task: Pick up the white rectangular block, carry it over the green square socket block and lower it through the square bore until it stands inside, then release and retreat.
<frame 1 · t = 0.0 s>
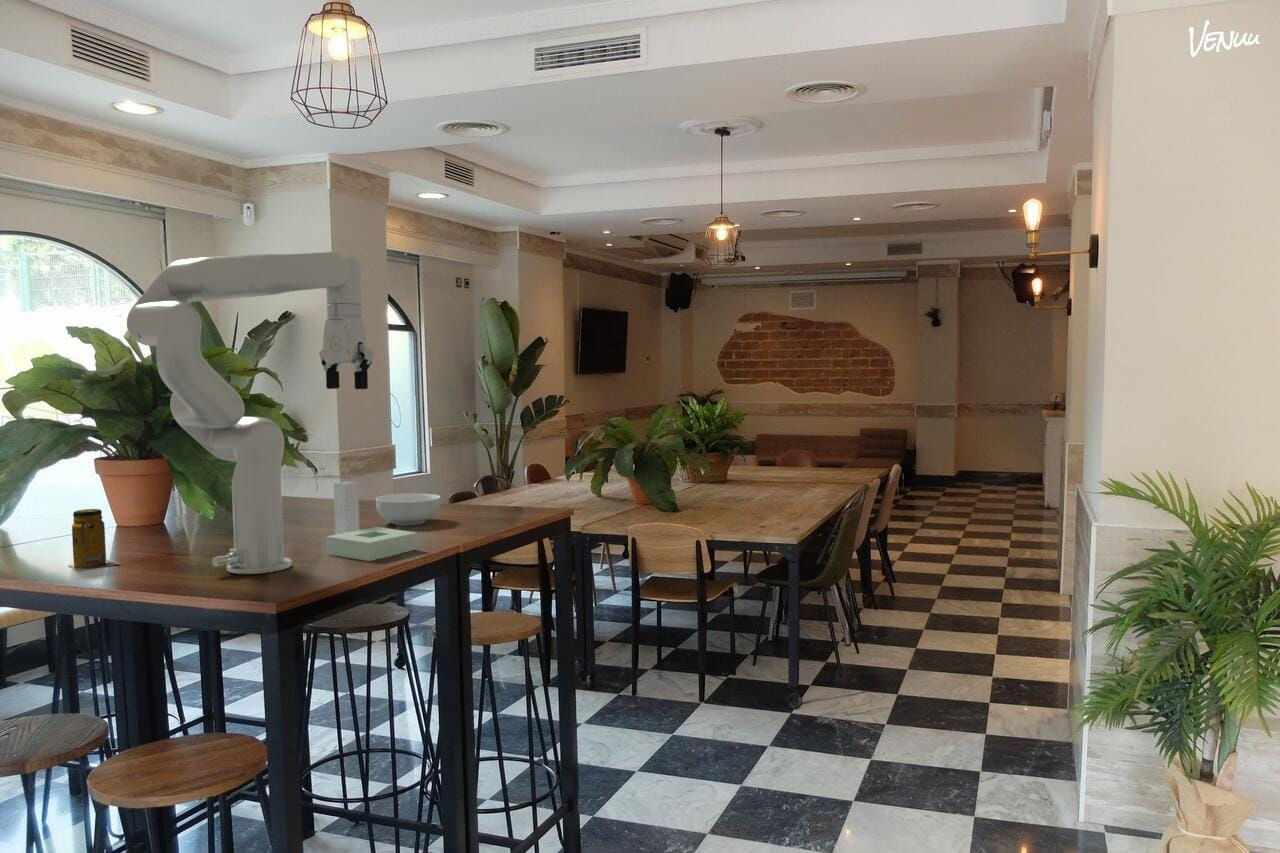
hand: (347, 388, 218), 37 cm above the table, tool pointing down, fingers open, 9 cm apart
condiment: (95, 566, 205), on the table
white rectangular block: (347, 540, 230), on the table
green square socket block: (372, 552, 216), on the table
cereal bowl: (409, 524, 254), on the table
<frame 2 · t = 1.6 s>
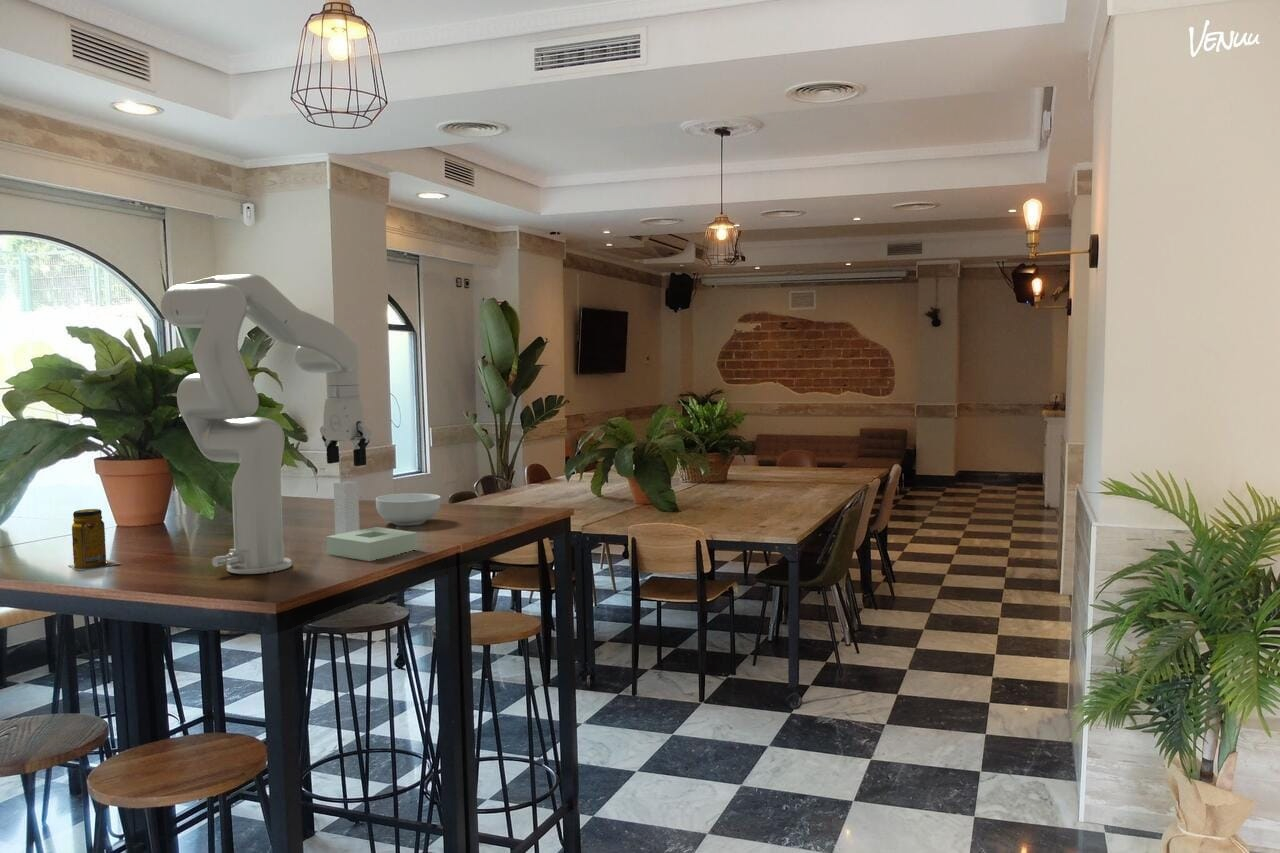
hand: (346, 464, 229), 18 cm above the table, tool pointing down, fingers open, 9 cm apart
nothing on the table moved.
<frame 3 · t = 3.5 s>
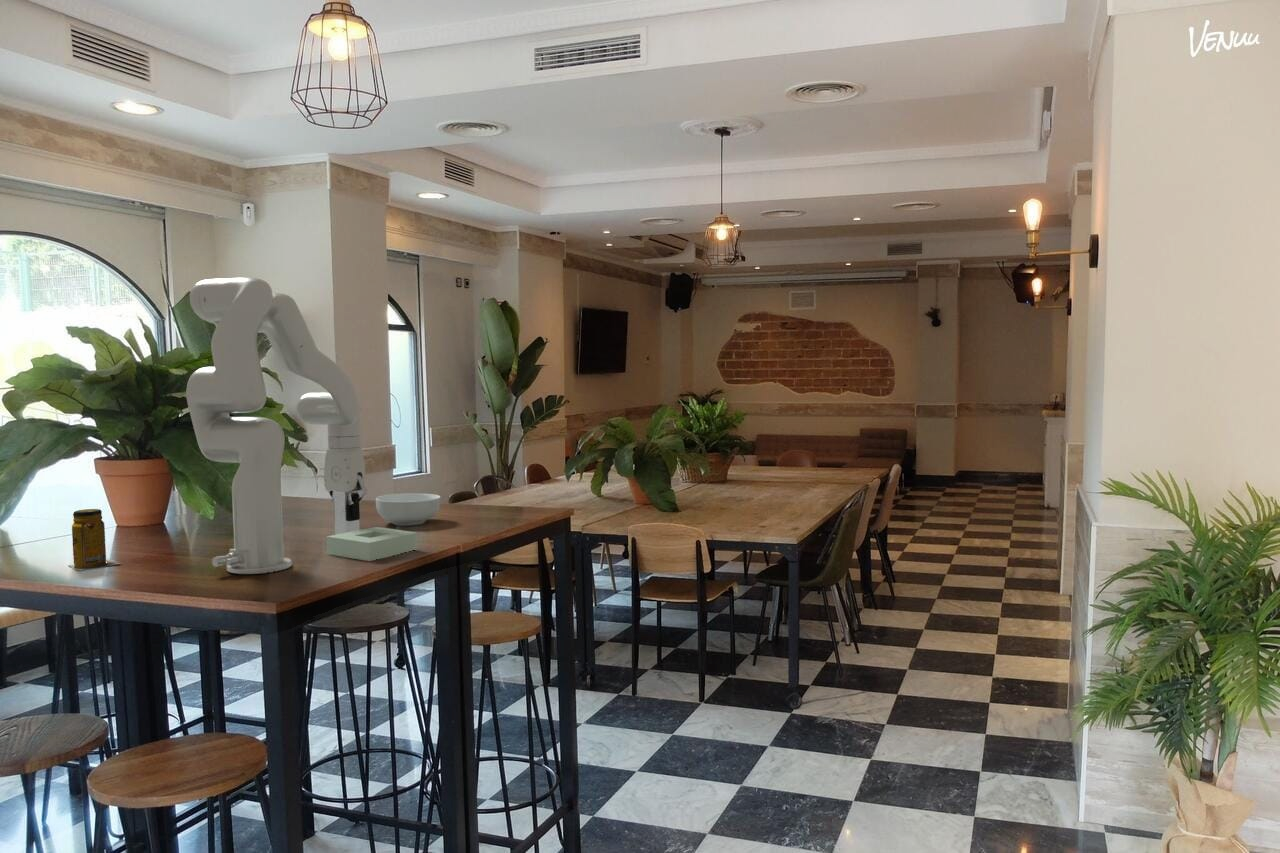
hand: (347, 518, 230), 5 cm above the table, tool pointing down, fingers closed on white rectangular block, 4 cm apart
white rectangular block: (347, 540, 230), on the table, touching gripper
everything else where it was.
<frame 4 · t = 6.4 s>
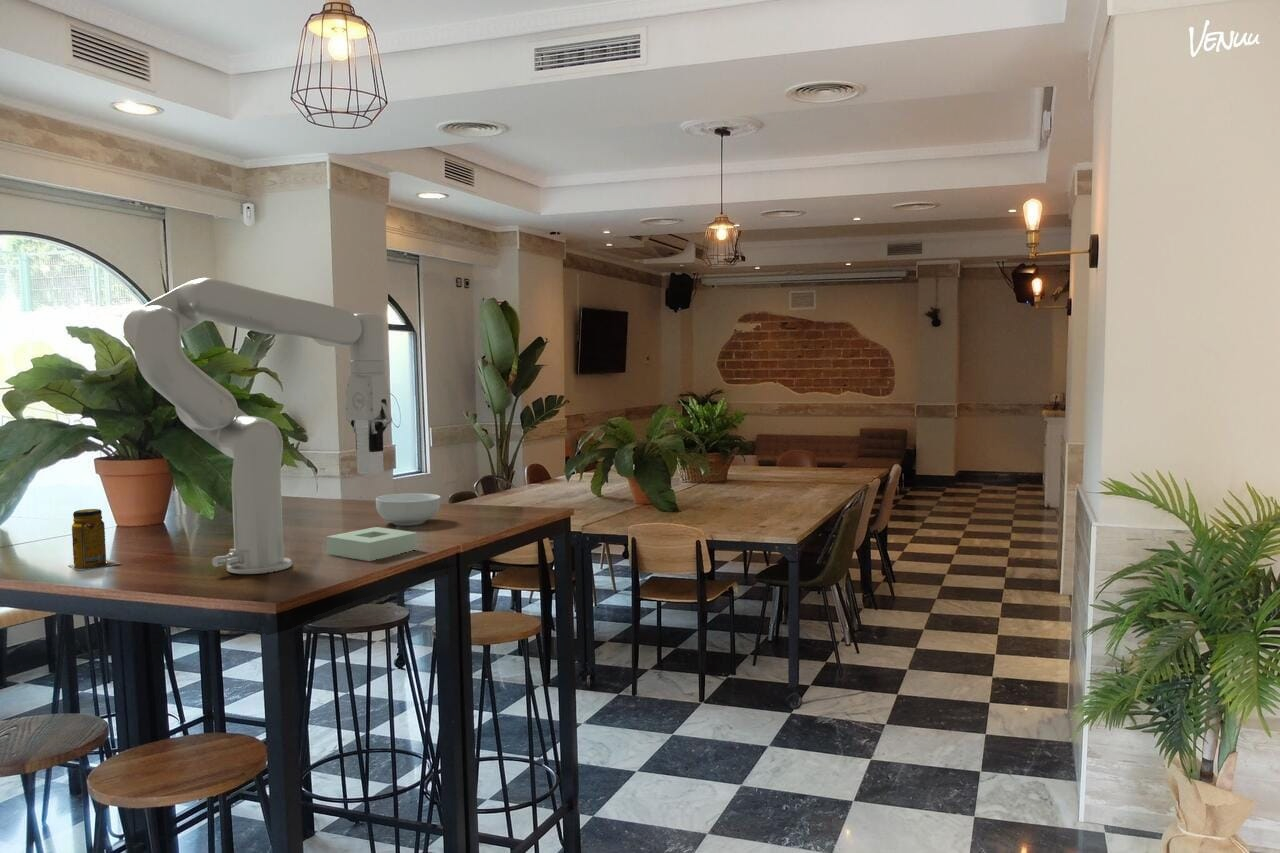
hand: (369, 450, 215), 23 cm above the table, tool pointing down, fingers closed on white rectangular block, 4 cm apart
white rectangular block: (370, 473, 215), point 18 cm above the table, touching gripper
everything else where it was.
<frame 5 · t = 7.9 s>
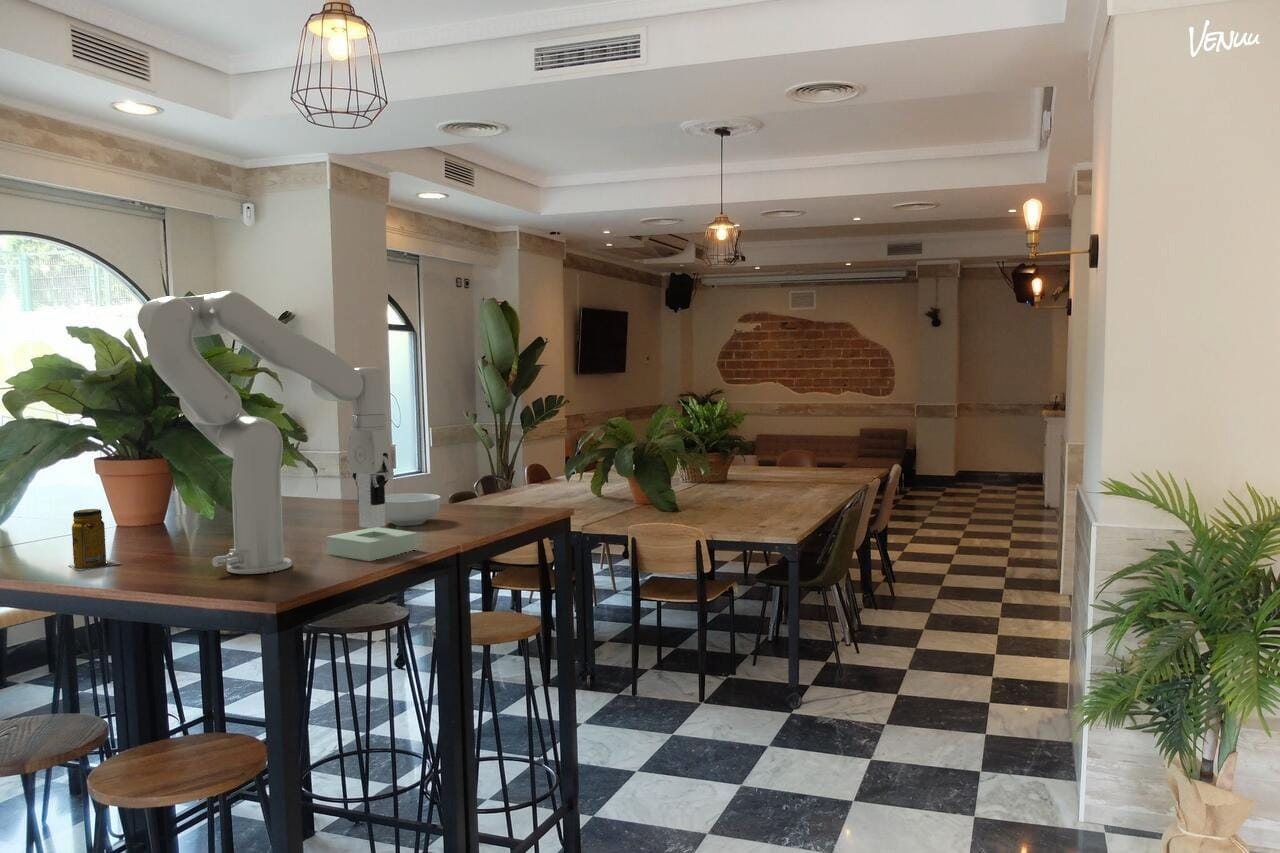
hand: (371, 502, 216), 11 cm above the table, tool pointing down, fingers closed on white rectangular block, 4 cm apart
white rectangular block: (372, 526, 216), point 6 cm above the table, touching gripper
everything else where it was.
when the fingers open (6 cm above the table, at t = 9.3 s): white rectangular block stays where it is, resting in green square socket block.
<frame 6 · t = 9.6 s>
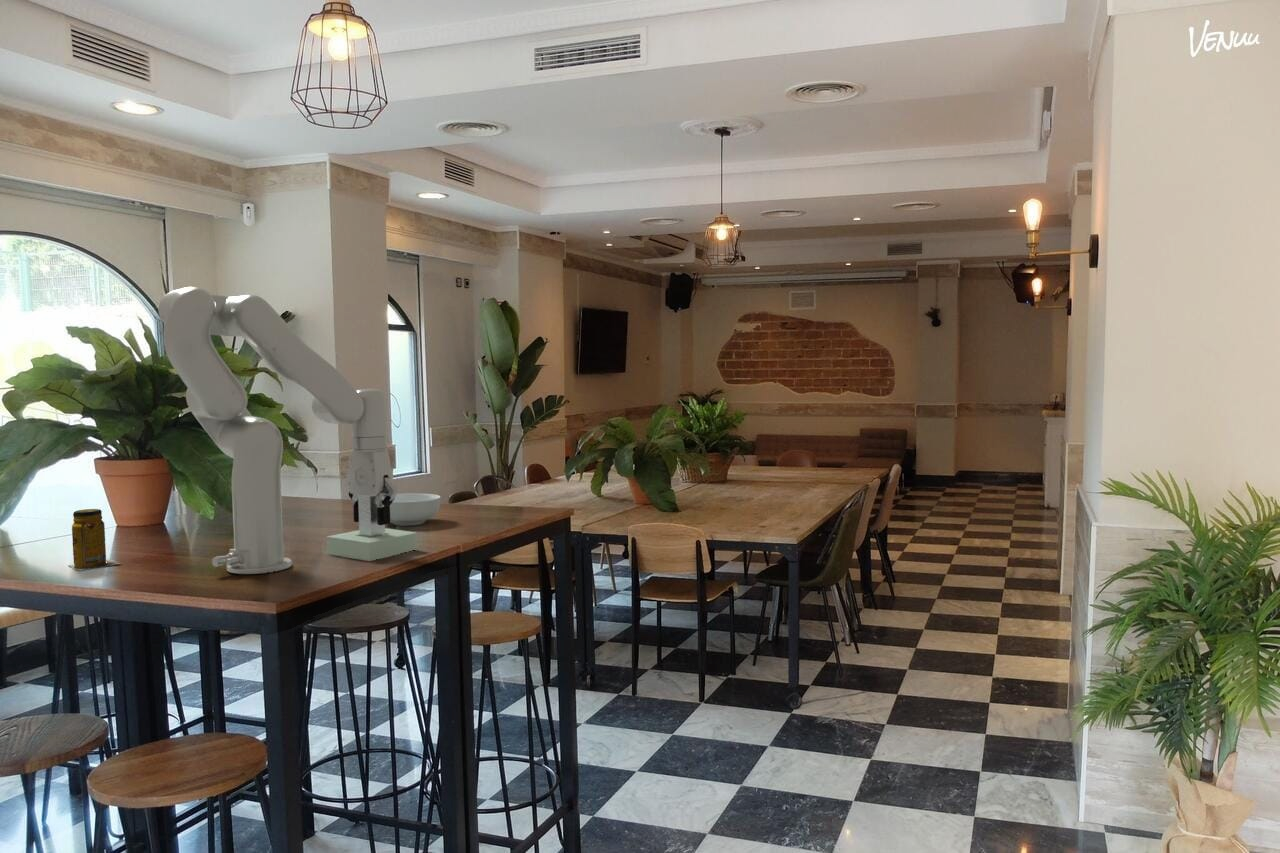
hand: (372, 522, 216), 7 cm above the table, tool pointing down, fingers open, 7 cm apart
white rectangular block: (372, 552, 216), resting in green square socket block
everything else where it was.
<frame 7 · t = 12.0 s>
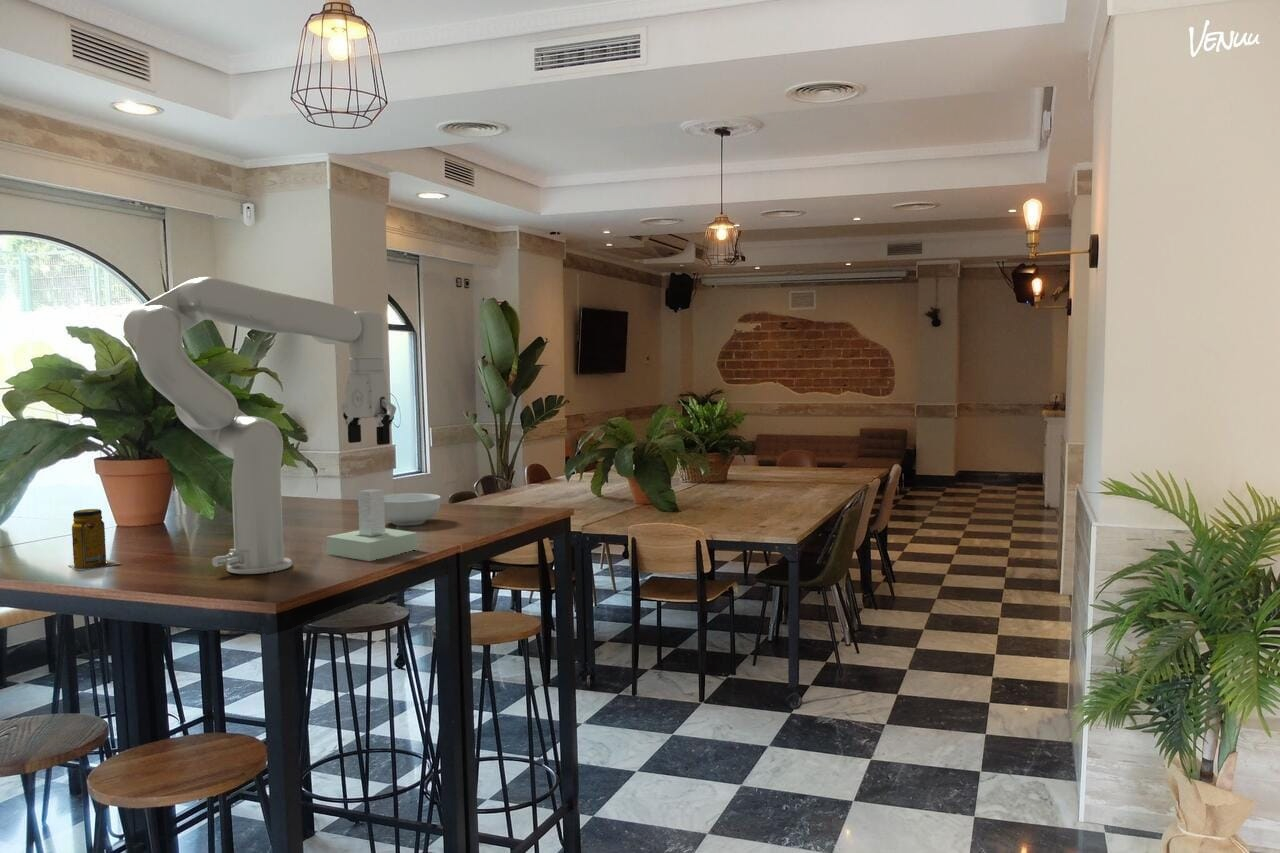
hand: (368, 443, 215), 25 cm above the table, tool pointing down, fingers open, 9 cm apart
nothing on the table moved.
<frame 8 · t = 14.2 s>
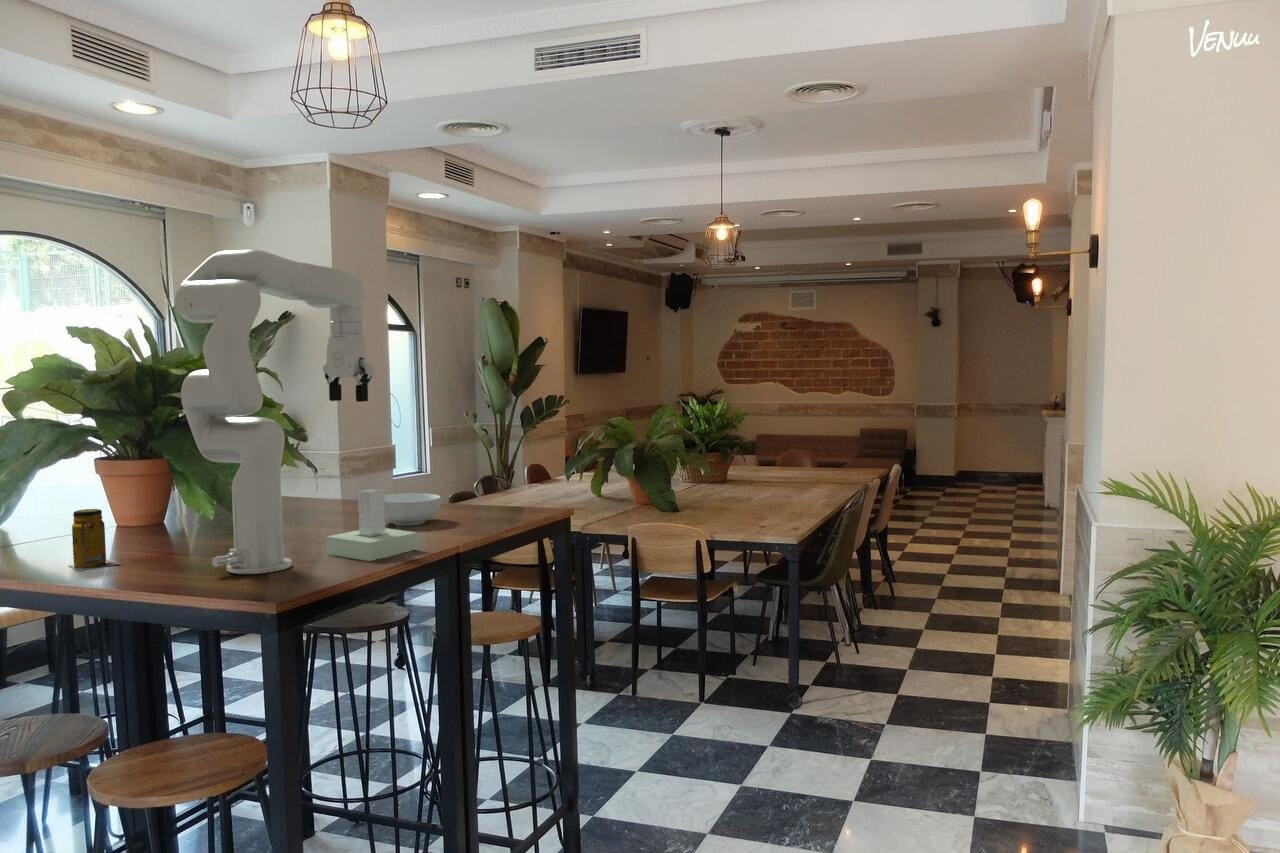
hand: (348, 401, 233), 33 cm above the table, tool pointing down, fingers open, 9 cm apart
nothing on the table moved.
at the end: white rectangular block 0.0 cm off-centre on the green square socket block, point 0.0 cm above the green square socket block's base; white rectangular block tilted 0°; the gripper is holding nothing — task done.
